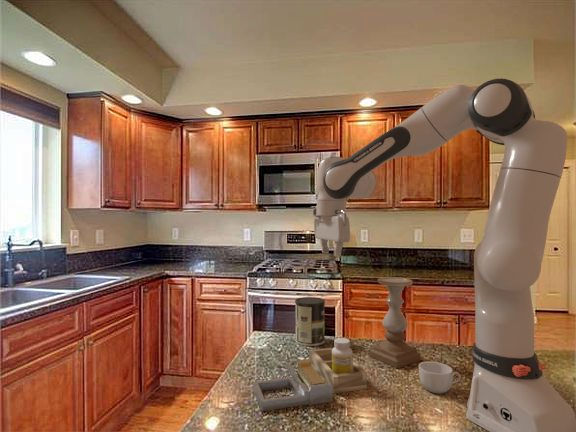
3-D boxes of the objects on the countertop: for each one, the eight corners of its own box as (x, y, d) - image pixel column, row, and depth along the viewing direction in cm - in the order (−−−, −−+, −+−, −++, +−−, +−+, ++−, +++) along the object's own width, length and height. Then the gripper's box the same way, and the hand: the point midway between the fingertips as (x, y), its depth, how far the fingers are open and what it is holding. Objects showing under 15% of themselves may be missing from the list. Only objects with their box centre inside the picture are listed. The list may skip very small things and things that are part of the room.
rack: (366, 388, 88) (366, 372, 89) (333, 393, 86) (333, 377, 86) (337, 360, 106) (337, 347, 106) (309, 363, 103) (309, 350, 103)
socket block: (332, 401, 82) (332, 384, 82) (261, 412, 78) (261, 394, 78) (304, 365, 102) (304, 351, 102) (246, 372, 97) (246, 358, 97)
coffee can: (323, 336, 128) (323, 296, 128) (326, 346, 117) (326, 304, 117) (294, 335, 128) (295, 296, 128) (294, 346, 117) (295, 303, 117)
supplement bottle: (338, 371, 96) (338, 335, 96) (356, 377, 93) (356, 339, 93) (327, 378, 92) (327, 340, 92) (346, 385, 88) (346, 345, 88)
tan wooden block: (325, 399, 83) (325, 379, 83) (313, 401, 82) (313, 380, 82) (308, 377, 95) (308, 359, 95) (297, 378, 94) (297, 360, 94)
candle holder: (368, 356, 109) (368, 278, 109) (392, 348, 115) (392, 275, 115) (397, 369, 100) (397, 284, 100) (421, 360, 106) (421, 280, 106)
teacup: (424, 396, 85) (424, 373, 85) (414, 381, 93) (415, 360, 93) (467, 398, 84) (467, 375, 84) (454, 382, 92) (454, 362, 92)
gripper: (355, 209, 100) (355, 258, 100) (328, 210, 120) (328, 251, 120) (335, 209, 99) (335, 259, 99) (310, 210, 118) (310, 252, 118)
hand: (331, 255), depth 110 cm, fingers open, 8 cm apart
